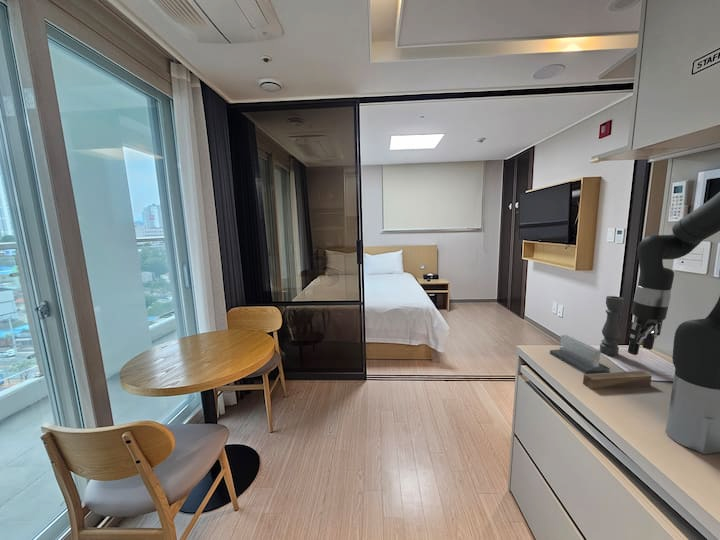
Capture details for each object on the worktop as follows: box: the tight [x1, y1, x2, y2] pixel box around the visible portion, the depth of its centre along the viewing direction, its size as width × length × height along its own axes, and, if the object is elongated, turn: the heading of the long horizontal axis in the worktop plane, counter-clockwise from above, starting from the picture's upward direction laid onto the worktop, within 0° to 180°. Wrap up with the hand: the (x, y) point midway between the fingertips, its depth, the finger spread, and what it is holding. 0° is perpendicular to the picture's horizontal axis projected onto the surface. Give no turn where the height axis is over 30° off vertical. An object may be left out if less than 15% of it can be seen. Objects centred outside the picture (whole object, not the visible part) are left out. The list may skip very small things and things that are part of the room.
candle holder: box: [599, 295, 625, 357], centre depth 125 cm, size 6×6×25 cm
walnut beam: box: [582, 370, 652, 390], centre depth 103 cm, size 4×22×4 cm, turn 94°
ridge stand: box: [549, 334, 611, 374], centre depth 119 cm, size 18×10×8 cm, turn 7°
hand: (639, 351), depth 90 cm, fingers open, 8 cm apart
